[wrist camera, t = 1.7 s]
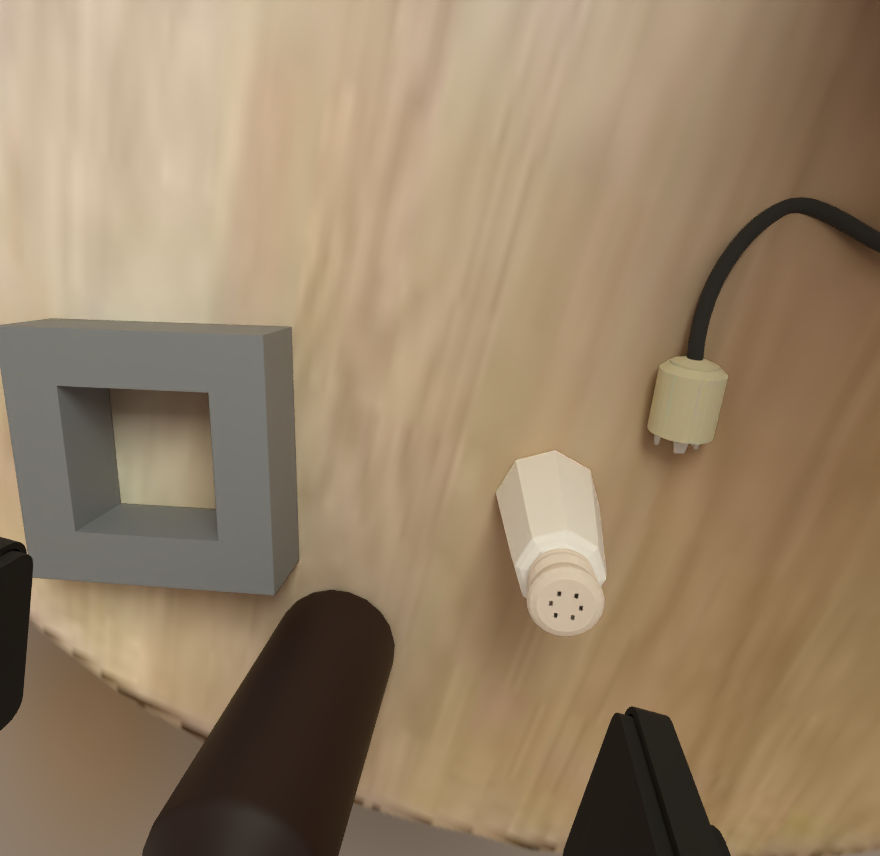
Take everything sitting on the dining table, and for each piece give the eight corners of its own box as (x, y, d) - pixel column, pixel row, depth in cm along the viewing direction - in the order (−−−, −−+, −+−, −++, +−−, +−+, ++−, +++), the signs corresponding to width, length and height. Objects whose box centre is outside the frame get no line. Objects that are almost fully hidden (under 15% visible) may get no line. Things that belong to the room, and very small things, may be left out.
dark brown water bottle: (257, 628, 38) (-5, 1014, 18) (342, 564, 36) (154, 913, 17) (333, 710, 38) (160, 1160, 19) (420, 651, 37) (326, 1078, 18)
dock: (291, 326, 33) (262, 335, 29) (299, 560, 36) (274, 595, 32) (52, 318, 34) (-6, 325, 30) (80, 545, 37) (31, 577, 33)
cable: (722, 116, 29) (751, 97, 26) (1089, 188, 28) (1166, 178, 25) (628, 440, 33) (642, 459, 30) (946, 509, 33) (997, 538, 29)
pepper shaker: (489, 538, 35) (482, 659, 24) (502, 442, 33) (501, 526, 23) (590, 552, 34) (628, 682, 24) (608, 456, 33) (656, 548, 22)
